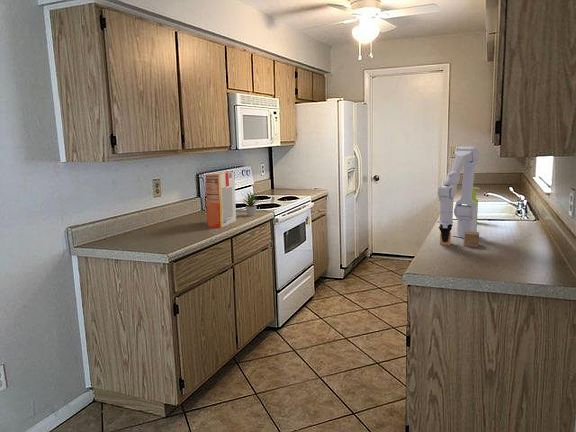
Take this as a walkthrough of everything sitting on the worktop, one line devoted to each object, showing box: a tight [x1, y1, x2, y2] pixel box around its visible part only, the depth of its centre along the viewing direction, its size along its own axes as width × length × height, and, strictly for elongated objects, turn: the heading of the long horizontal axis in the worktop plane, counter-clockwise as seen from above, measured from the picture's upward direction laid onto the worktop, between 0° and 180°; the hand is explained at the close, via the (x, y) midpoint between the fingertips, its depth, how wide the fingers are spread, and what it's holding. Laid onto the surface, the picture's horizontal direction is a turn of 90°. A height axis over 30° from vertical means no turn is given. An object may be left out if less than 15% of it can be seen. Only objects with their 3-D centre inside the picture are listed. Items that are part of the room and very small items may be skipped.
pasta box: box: [204, 170, 237, 229], centre depth 282 cm, size 23×8×30 cm, turn 164°
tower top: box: [465, 231, 480, 242], centre depth 219 cm, size 6×6×3 cm
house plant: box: [242, 191, 263, 217], centre depth 310 cm, size 14×14×16 cm
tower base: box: [463, 238, 479, 248], centre depth 220 cm, size 6×6×3 cm
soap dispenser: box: [468, 186, 481, 223], centre depth 272 cm, size 6×7×20 cm
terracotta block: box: [439, 231, 452, 246], centre depth 223 cm, size 4×4×5 cm
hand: (445, 240), depth 223 cm, fingers closed on terracotta block, 4 cm apart
